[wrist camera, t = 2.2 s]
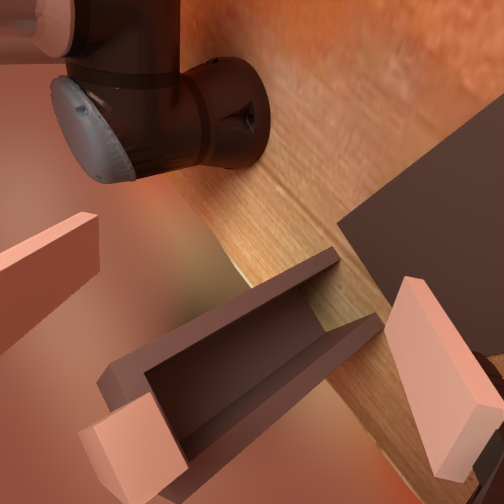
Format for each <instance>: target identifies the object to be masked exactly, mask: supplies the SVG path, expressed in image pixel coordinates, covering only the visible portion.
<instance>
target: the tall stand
mask: <svg viewBox="0 0 504 504" xmlns="http://www.w3.org/2000/svg"><path fill="white" fill-rule="evenodd" d="M340 259H341V258H340V257H339V255H338V254H337V252H336V251H335V249H334V248H333V246H332V247H330V248H328V249H326V250H324V251H322V252H320V253H318V254H317V255H315V256H313V257H311V258H309V259H307V260H305V261H303V262H301V263H299V264H298V265H296V266H294V267H292V268H290V269H288V270H286V271H284V272H282V273H281V274H279V275H277V276H275V277H273V278H271V279H269V280H267V281H265V282H263V283H262V284H260V285H258V286H256V287H254V288H252V289H250V290H248V291H246V292H245V293H243V294H241V295H239V296H237V297H235V298H233V299H231V300H229V301H227V302H226V303H224V304H222V305H220V306H218V307H216V308H214V309H212V310H210V311H209V312H207V313H205V314H203V315H201V316H199V317H197V318H195V319H193V320H191V321H190V322H188V323H186V324H184V325H182V326H180V327H178V328H176V329H174V330H172V331H171V332H169V333H167V334H165V335H163V336H161V337H159V338H157V339H155V340H154V341H152V342H150V343H148V344H146V345H144V346H142V347H140V348H139V349H136V350H134V351H133V352H131V353H129V354H127V355H125V356H123V357H121V358H119V359H118V360H116V361H114V362H112V363H110V364H109V365H108V367H107V368H106V370H105V371H104V372H103V374H102V375H101V377H100V379H99V380H98V381H97V385H98V387H99V389H100V391H101V394H102V395H103V398H104V400H105V402H106V404H107V406H108V408H109V410H110V412H113V411H114V410H116V409H118V408H120V407H122V406H124V405H126V404H128V403H130V402H132V401H133V400H135V399H137V398H139V397H141V396H143V395H145V394H147V393H149V392H150V393H151V395H152V397H153V399H154V401H155V403H156V405H157V407H158V409H159V411H160V413H161V415H162V417H163V419H164V421H165V423H166V425H167V427H168V428H169V430H170V432H171V434H172V436H173V438H174V440H175V442H176V444H177V446H178V448H179V450H180V452H181V454H182V456H183V458H184V460H185V462H186V464H187V466H188V469H187V470H186V471H184V472H183V473H182V474H181V475H180V476H178V477H177V478H176V479H175V480H173V481H172V482H171V483H170V484H168V485H167V486H166V487H165V488H164V489H162V490H161V491H160V492H159V493H157V494H158V495H160V496H162V497H164V498H166V499H168V500H170V501H172V502H174V503H176V504H182V503H183V502H184V501H185V500H186V499H187V498H188V497H190V496H191V495H192V494H193V493H194V492H195V491H197V490H198V489H199V488H200V487H201V486H202V485H203V484H204V483H206V482H207V481H208V480H209V479H210V478H211V477H213V476H214V475H215V474H216V473H217V472H218V471H219V470H221V469H222V468H223V467H224V466H225V465H226V464H227V463H229V462H230V461H231V460H232V459H233V458H234V457H236V456H237V455H238V454H239V453H240V452H241V451H242V450H244V449H245V448H246V447H247V446H248V445H249V444H250V443H252V442H253V441H254V440H255V439H256V438H257V437H258V436H260V435H261V434H262V433H263V432H264V431H265V430H266V429H268V428H269V427H270V426H271V425H272V424H273V423H275V422H276V421H277V420H278V419H279V418H280V417H281V416H282V415H284V414H285V413H286V412H287V411H288V410H289V409H291V408H292V407H293V406H294V405H295V404H296V403H297V402H299V401H300V400H301V399H302V398H303V397H304V396H306V395H307V394H308V393H309V392H310V391H311V390H312V389H314V388H315V387H316V386H317V385H318V384H319V383H320V382H321V381H323V380H324V379H325V378H326V377H327V376H328V375H330V374H331V373H332V372H333V371H334V370H335V369H337V368H338V367H339V366H340V365H341V364H342V363H343V362H345V361H346V360H347V359H348V358H349V357H350V356H351V355H353V354H354V353H355V352H356V351H357V350H358V349H359V348H361V347H362V346H363V345H364V344H365V343H366V342H367V341H369V340H370V339H371V338H372V337H373V336H374V335H376V334H377V333H378V332H379V331H380V330H381V329H382V328H384V327H385V326H384V324H383V323H382V321H381V320H380V318H379V317H378V315H377V314H376V313H373V314H371V315H368V316H366V317H363V318H361V319H358V320H356V321H353V322H351V323H348V324H346V325H344V326H341V327H339V328H336V329H334V330H331V331H329V332H325V331H324V329H323V328H322V326H321V324H320V323H319V321H318V319H317V318H316V316H315V315H314V313H313V311H312V310H311V308H310V307H309V305H308V303H307V302H306V300H305V298H304V297H303V295H302V294H301V292H300V290H299V289H298V286H299V285H301V284H303V283H304V282H306V281H307V280H309V279H310V278H312V277H314V276H315V275H317V274H318V273H320V272H321V271H323V270H324V269H326V268H328V267H329V266H331V265H332V264H334V263H335V262H337V261H339V260H340Z"/></svg>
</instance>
